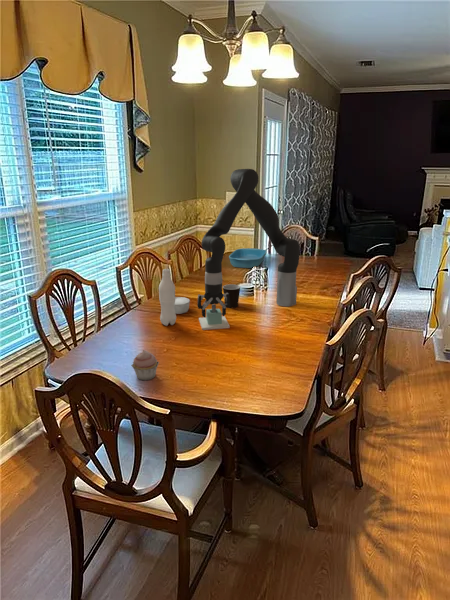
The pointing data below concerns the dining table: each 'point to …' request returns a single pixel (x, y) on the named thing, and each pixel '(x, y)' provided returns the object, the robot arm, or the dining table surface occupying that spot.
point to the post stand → (213, 326)
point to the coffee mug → (232, 294)
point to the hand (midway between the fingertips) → (213, 316)
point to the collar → (213, 317)
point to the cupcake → (145, 365)
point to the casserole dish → (247, 257)
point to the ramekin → (181, 305)
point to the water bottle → (167, 299)
